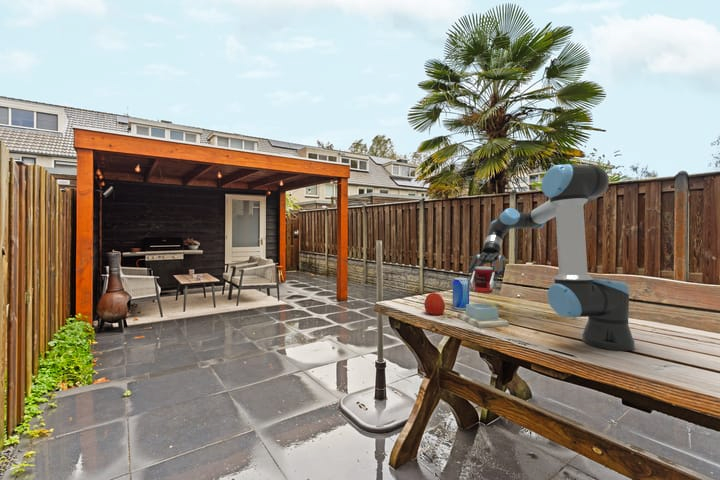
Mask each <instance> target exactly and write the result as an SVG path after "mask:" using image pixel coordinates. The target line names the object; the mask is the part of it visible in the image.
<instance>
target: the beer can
mask: <svg viewBox="0 0 720 480" xmlns="http://www.w3.org/2000/svg"><path fill="white" fill-rule="evenodd" d="M466 304H470V282H469V281H468V278H466V277H455V278H454V279H453V281H452V307H453V309H454V310H456V311H466Z"/></svg>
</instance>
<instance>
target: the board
mask: <svg viewBox="0 0 720 480" xmlns="http://www.w3.org/2000/svg"><path fill="white" fill-rule="evenodd" d="M457 319H460V320H462V321H463V322H466V323H468V324H470V325H472V326H475V327H476V328H479V329H485V328H487V329H488V328H496V327H498V328H499V327H508V326H509V320H506V319H504V318H501V317H499V319H494V320H481V321H478V320H476V319H473V318H471V317H469V316H467V315H466V312H460V313H457Z"/></svg>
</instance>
